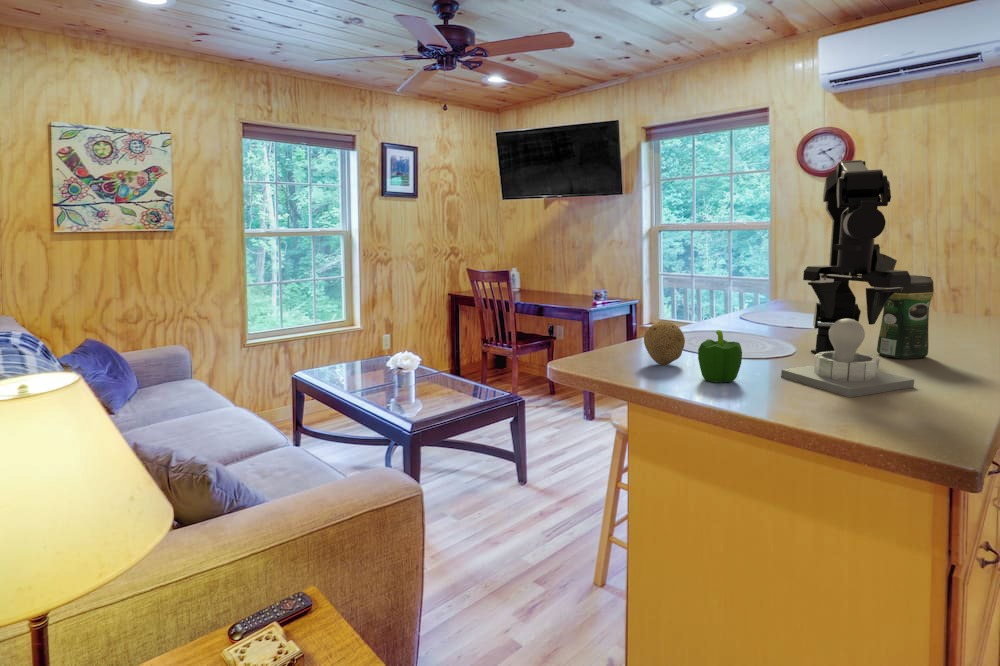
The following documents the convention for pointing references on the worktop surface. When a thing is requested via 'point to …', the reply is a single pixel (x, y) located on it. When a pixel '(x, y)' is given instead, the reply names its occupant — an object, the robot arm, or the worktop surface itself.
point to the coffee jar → (907, 320)
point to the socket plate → (848, 382)
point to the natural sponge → (664, 342)
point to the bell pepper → (719, 359)
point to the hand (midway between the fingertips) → (849, 320)
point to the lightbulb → (846, 338)
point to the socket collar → (846, 367)
